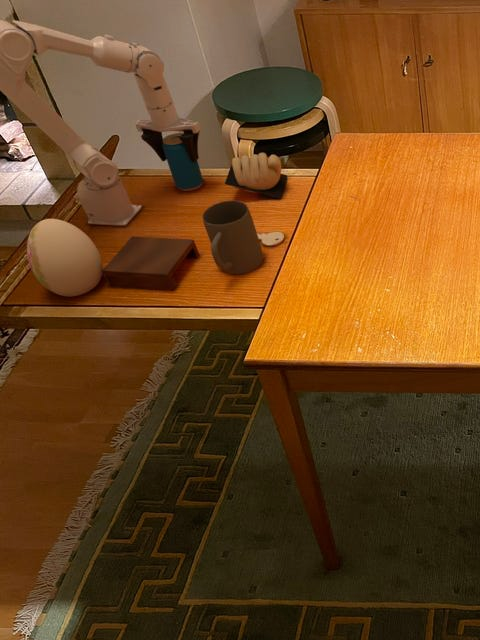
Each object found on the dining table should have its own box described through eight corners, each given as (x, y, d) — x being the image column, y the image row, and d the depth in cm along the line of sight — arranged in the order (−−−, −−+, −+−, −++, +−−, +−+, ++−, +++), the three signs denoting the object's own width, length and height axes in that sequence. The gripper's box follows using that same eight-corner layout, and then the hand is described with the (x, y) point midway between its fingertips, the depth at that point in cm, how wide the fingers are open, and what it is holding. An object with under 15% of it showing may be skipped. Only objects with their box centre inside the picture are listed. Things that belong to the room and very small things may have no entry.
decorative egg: (61, 267, 150) (27, 205, 140) (119, 265, 150) (88, 203, 140) (36, 304, 141) (-3, 241, 131) (97, 302, 141) (62, 238, 131)
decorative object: (292, 148, 168) (286, 172, 161) (285, 184, 175) (279, 208, 168) (236, 133, 164) (227, 156, 158) (231, 170, 171) (223, 194, 164)
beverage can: (208, 179, 175) (193, 132, 167) (198, 192, 170) (183, 144, 162) (182, 179, 175) (166, 132, 167) (172, 192, 170) (155, 144, 162)
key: (288, 233, 154) (274, 246, 151) (288, 235, 155) (275, 247, 151) (247, 224, 158) (233, 237, 155) (247, 225, 158) (233, 238, 155)
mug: (229, 248, 152) (211, 199, 144) (270, 249, 151) (255, 200, 143) (204, 288, 143) (184, 238, 134) (248, 289, 142) (230, 239, 133)
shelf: (110, 286, 145) (101, 270, 142) (139, 251, 153) (131, 236, 150) (174, 290, 143) (167, 274, 140) (199, 255, 151) (193, 239, 148)
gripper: (197, 96, 160) (216, 152, 169) (138, 95, 162) (159, 150, 171) (183, 110, 155) (203, 167, 164) (122, 109, 157) (145, 165, 166)
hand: (180, 159), depth 168 cm, fingers open, 7 cm apart
